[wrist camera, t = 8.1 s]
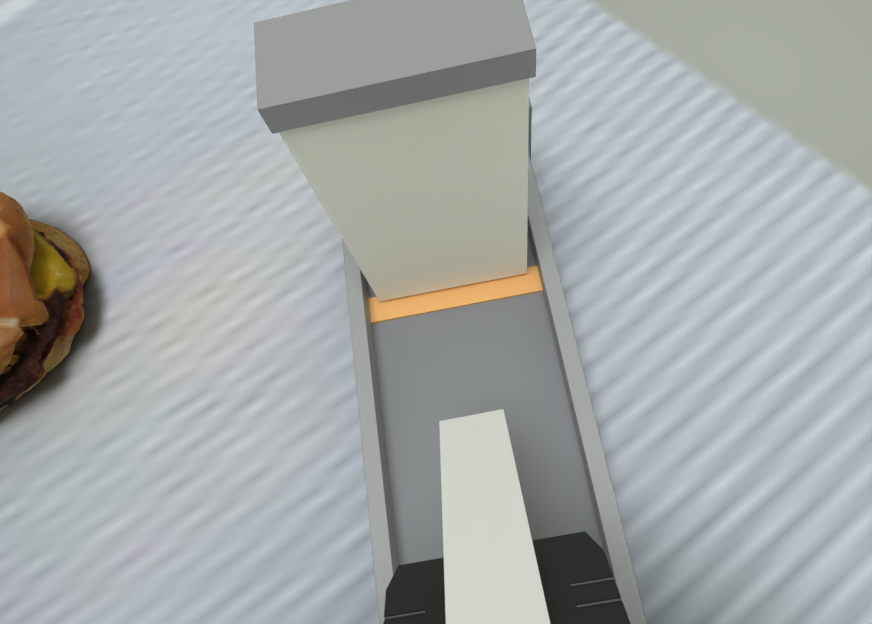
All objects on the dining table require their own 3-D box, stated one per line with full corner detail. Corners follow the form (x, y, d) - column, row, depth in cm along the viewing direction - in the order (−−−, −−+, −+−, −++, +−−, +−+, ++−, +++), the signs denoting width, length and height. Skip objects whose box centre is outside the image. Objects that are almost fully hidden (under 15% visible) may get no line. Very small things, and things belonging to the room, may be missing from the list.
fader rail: (663, 726, 16) (710, 788, 12) (408, 760, 16) (370, 831, 12) (526, 172, 23) (527, 91, 19) (349, 208, 23) (312, 137, 19)
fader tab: (530, 275, 20) (536, 48, 11) (376, 304, 20) (257, 110, 11) (517, 218, 20) (512, -38, 11) (370, 247, 21) (254, 22, 12)
